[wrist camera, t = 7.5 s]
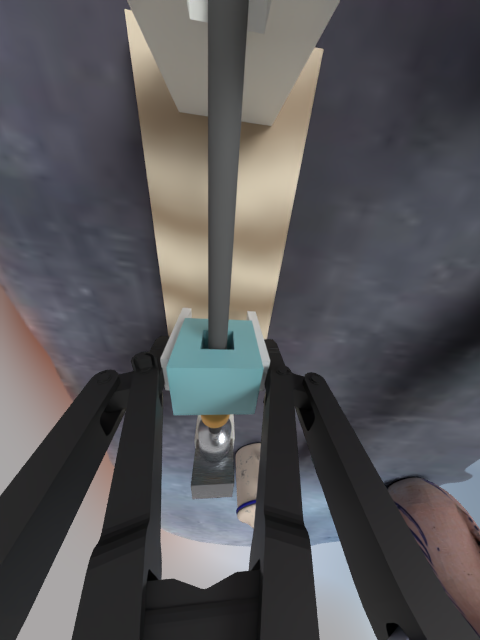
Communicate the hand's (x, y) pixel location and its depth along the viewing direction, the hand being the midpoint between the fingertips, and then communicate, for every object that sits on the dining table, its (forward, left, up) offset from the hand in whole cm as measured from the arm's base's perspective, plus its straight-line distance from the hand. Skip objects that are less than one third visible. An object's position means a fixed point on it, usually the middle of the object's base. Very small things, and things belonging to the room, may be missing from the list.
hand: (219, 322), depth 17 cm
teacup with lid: (+17, +29, -4) cm, 34 cm away
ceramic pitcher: (-1, +77, -4) cm, 77 cm away
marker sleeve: (0, 0, +3) cm, 3 cm away
